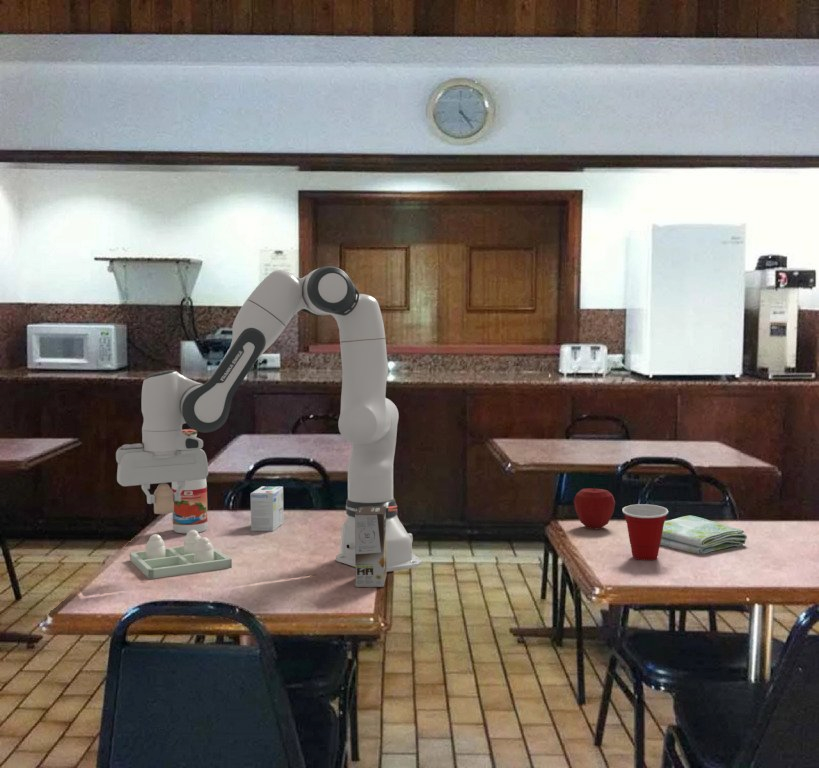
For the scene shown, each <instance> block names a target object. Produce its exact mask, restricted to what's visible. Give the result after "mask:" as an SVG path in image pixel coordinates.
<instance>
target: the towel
mask: <svg viewBox="0 0 819 768" xmlns="http://www.w3.org/2000/svg"><path fill="white" fill-rule="evenodd" d="M747 538H748V536H747V534H745V531H744V530H743V529H741V528H736V527H732V526H728V525H726V524H722V523H719V522H717V521H712V520H709V519H707V518H703V517H699V516H696V515H685V516H680V517H677V518H673V519H669V520H665V522H664V526H663V531H662V537H661V543H660V545H662V546H664V547H668V548H671V549H677V550H679V551H684V552H686V553H687V552H688V553H691V554H696V555H697V554H698V555H700V554H702V555H703V554H708V553H712V552H715V551H719V550H720V551H721V550H724V549H727V548H730V547H731V548H732V547H741V546H743V545H745V544H746V542H747V541H746V540H747Z"/></svg>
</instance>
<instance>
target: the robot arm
mask: <svg viewBox="0 0 819 768" xmlns="http://www.w3.org/2000/svg"><path fill="white" fill-rule="evenodd" d="M379 304H380V303H379V302H378V300H377V299H376V298H375V297H373V296H371V295H369V294H365V293H360V291H359V290H358V288H357V287H356V286H355V284H354V283H353V281H352V279H351V277H350V276H349V275H348V274H347V273H346V272H345V271H344V270H343V269H341V268H339V267H336V266H333V265H327V266H326V265H325V266H323V267H318V268H316V269H314V270H312V271H310V272H309V273H308V274H306V275H305V276H302V277H296V275H294V274H292V273H290V272H288V271H286V270H274V271H272V272H271V273H269V274H268V275H267V276H266V277H264V279H263V280H262V281H261V282H259V284H258V285H257V286H256V287H255V288H254V290H253V291H252V292H251V294H249V296H248V297H247V298H246V300H245V301H244V303H243V305H242V306H241V307H240V309H239V310H238V313H237V315H236V317H235V318H234V320H233V324H232V336H231V337H232V339H231V343H230V346H229V348H228V350H227V352H226V354H225V356H224V357H223V359H222V360H221V361H220V363H219V364H218V365H217V367H216V369H215V370H214V372H213V373H212V375H211V376H210V378H209V379H208V380H207V381H206V382H204V383H202V382H199V381H195V380H193V379H190V378H188V377H186V376H185V375H182V374H181V373H179V372H178V371H177V370H174V369H169V370H162V371H157V372H153V373H150V374H149V375H148V376H146V377H145V379H143V383H142V387H141V400H140V401H141V404H140V405H141V413H142V417H143V423H142V427H141V434H142V435H141V436H142V437H141V438H142V439H141V440H142V442H140V443H132V444H129V443H127V444H126V443H125V444H123V445H121V446H119V447H118V448H117V450H116V452H115V460H116V463H117V472H116V481H117V483H118V484H119V485H120V486H122V487H133V486H141V490H142V492H143V493H144V494H145V496H146V502H147V503H146V504H149V505H151V504H154V503H155V495H154V494H151V493H150V491H149V490H150V489H151V485H154V484H161V483H166V484H168V483H172V482H177V485H179V487H178V489H177V491H176V492H175V493H173V494H174V501H180V500H181V494H180V493H181V492H182V491H183V489H184V487H185V481H190V480H201V479H206V480H207V478H208V475H209V463H208V458H207V454H206V452H205V450H203V447H204V440H203V439H201V438H199V437H197V436H196V437H193V436H190V435H188V434H183V433H182V430H183V425H184V424H186V425H187V426H188V427H189V428H190V429H193V430H195V431H197V433H198V432H199V433H212V432H214V431H217V430H218V429H220V428H222V426H224V425H225V423H226V422H227V420H228V417H229V414H230V410H231V405H232V400H233V397H234V395H235V393H236V391H237V390H238V389H239V387H240V386H241V384H242V383H243V381H244V380H245V378H246V377H247V375H248V373H249V372H250V371H251V369H252V367H253V365H254V364H255V363H256V362H257V360H259V358H260V357H261V356H262V355H263V354H264V353H265V352H266V351H267V350H268V349H269V348H270V347H271V346H272V345H273V344H274V343H275V341H276V340H277V339H278V338H279V337H280V335H282V333H283V331H284V330H285V329H286V327H287V326H288V324H289V323H290V321H291V320H292V319H293V317H294V316H295V315H296V314H297V313H298V312H300V311H302V312H305V313H307V314H310V315H314V316H319V317H320V316H329V315H330V316H332V317H333V318H334V319H335V321H336V324H337V328H338V329H339V331H338V332H339V333H338V334H339V343H340V344H339V346H340V347H339V348H340V358H341V371H342V378H341V379H342V382H341V394H340V395H341V396H340V414H339V418H338V423H337V424H338V430H339V431H338V432H339V433H340V435H341V437H342V438H343V439H344V440H345V441H346V442H348V443H350V444H352V445H351V450H350V458H349V461H348V465H347V499H346V501H345V503H346V504H345V509H346V511H345V513H346V515H347V516H346V519H345V521H344V523H343V524H342V525H341V533H340V534H341V535H340V536H341V537H340V548H339V549H340V551H339V553H338V554H337V555H335V561H336V562H339V563H342V564H345V565H349V566H350V567H354V568H356V565H355V513H356V511H357V509H358V508H359V507H368V506H385V507H386V573H389V572H397V571H402V570H403V571H404V570H408V569H414V568H417V567H421V566H422V565H423V560H422V559H421V558H420V557H418V556H417V555H416V554H415V553H413V546H412V545H413V544H412V543H413V541H414V538H413V533H411V532H409V533H408V532H407V530H406V528H405V527H404V525H403V524H402V522H401V520H400V519H399V516H398V505H397V503H396V499H395V498H394V461H395V453H396V445H397V436H398V435H397V433H398V423H399V418H400V417H399V410H398V408H397V405H395V404H396V403H394V402H393V401H392V400H391V399H389V398H387V396H386V393H387V381H388V380H387V379H388V373H389V365H388V353H387V352H388V351H387V341H386V340H387V339H386V331H385V324H384V319H383V315H382V311H381V308H380V305H379Z"/></svg>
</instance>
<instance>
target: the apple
mask: <svg viewBox="0 0 819 768" xmlns="http://www.w3.org/2000/svg"><path fill="white" fill-rule="evenodd" d="M595 487H596V486H595V485H594V486H593V488H582V489H580V490H579V491H578V492H577V493H576V494H575V496H574V499H573V505H574V509H575V512H576V515H577V517H578V519H579V521H580V523H581V525H583V526H585V527H586V528H587V529H590V530H600V529H602V528H603V527H606V525H608V524H609V523H610V520H611V518H612V517H613V515H614V514H613V513H614V512H615V505H616V501H615V497H614V495H613V494H612V492H610V491H609V490H607V489H602V488H595Z"/></svg>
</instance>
